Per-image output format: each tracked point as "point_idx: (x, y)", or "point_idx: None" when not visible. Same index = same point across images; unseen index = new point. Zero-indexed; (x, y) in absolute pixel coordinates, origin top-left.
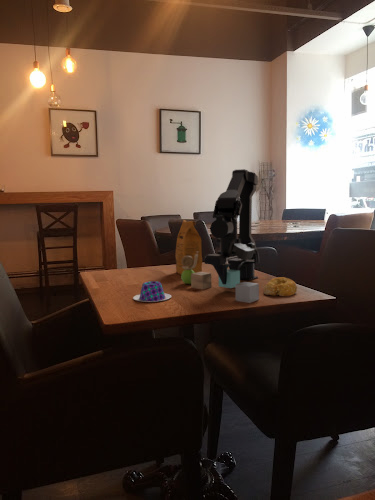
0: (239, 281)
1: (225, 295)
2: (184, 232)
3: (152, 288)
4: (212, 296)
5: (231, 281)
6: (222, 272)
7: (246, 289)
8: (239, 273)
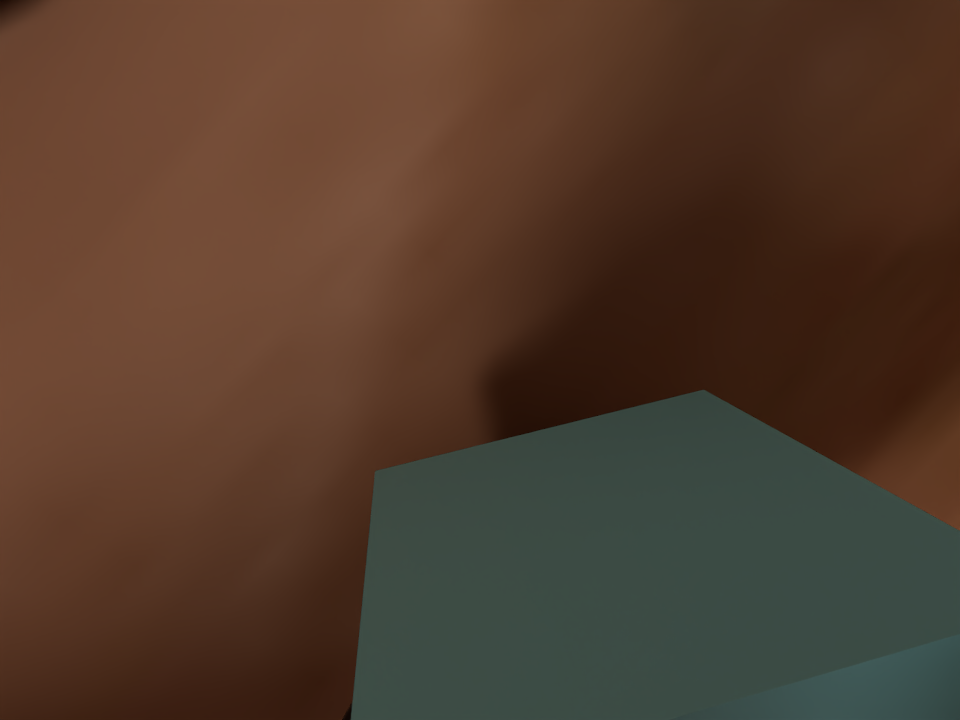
0: (393, 513)
1: (773, 353)
2: None
3: None
4: (942, 430)
5: (772, 450)
6: None
7: None
8: (384, 684)
